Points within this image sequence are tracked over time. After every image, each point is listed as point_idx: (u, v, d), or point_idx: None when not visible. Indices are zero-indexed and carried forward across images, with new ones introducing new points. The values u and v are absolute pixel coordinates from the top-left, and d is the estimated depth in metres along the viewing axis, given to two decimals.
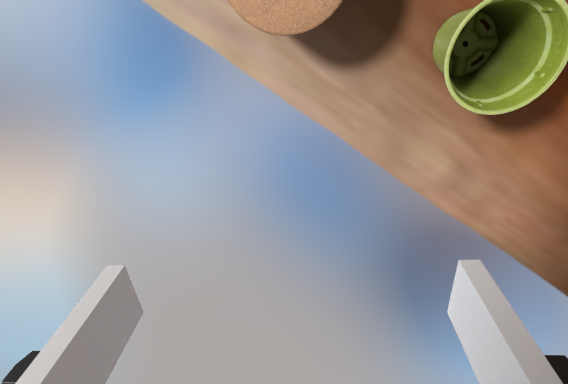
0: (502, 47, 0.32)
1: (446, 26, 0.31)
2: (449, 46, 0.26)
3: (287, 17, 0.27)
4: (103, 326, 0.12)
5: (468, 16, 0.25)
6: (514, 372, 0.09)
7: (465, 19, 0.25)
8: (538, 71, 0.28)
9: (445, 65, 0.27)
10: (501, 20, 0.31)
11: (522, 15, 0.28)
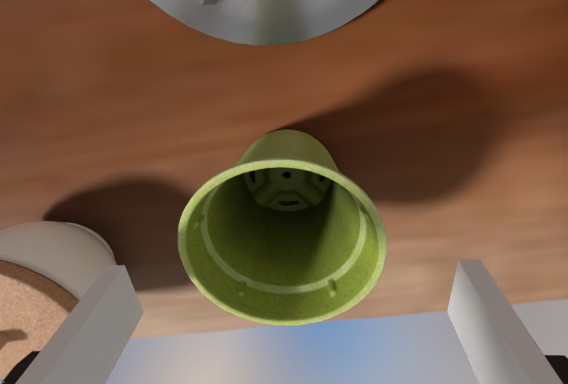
0: (325, 152, 0.20)
1: (235, 197, 0.21)
2: (207, 296, 0.17)
3: None
4: (103, 326, 0.12)
5: (184, 263, 0.16)
6: (514, 372, 0.09)
7: (185, 267, 0.16)
8: (361, 207, 0.16)
9: (228, 311, 0.17)
10: None
11: None
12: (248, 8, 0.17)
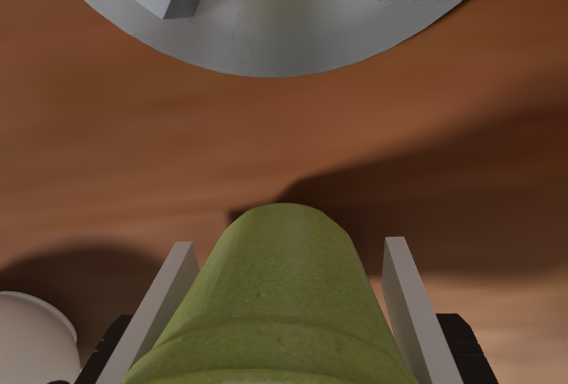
0: None
1: None
2: None
3: None
4: (180, 295, 0.13)
5: None
6: (409, 325, 0.10)
7: None
8: None
9: None
10: None
11: None
12: (243, 22, 0.11)
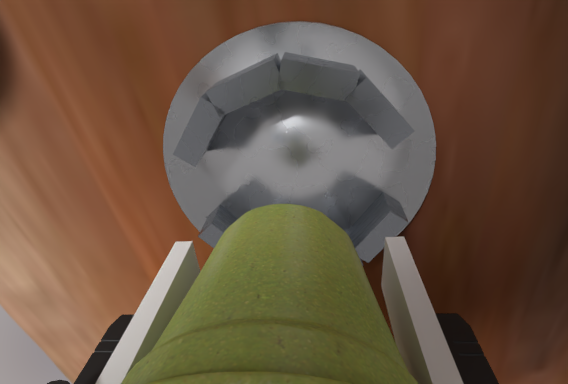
0: None
1: None
2: None
3: None
4: (180, 295, 0.13)
5: None
6: (409, 326, 0.10)
7: None
8: None
9: None
10: None
11: None
12: (188, 163, 0.23)
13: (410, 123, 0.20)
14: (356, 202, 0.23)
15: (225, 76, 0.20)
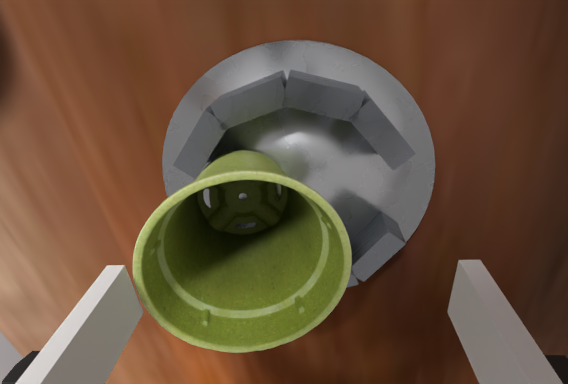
0: None
1: (191, 222, 0.20)
2: (168, 330, 0.15)
3: None
4: (103, 326, 0.12)
5: (140, 295, 0.14)
6: (514, 372, 0.09)
7: (142, 299, 0.14)
8: (322, 218, 0.16)
9: (193, 343, 0.16)
10: None
11: (236, 167, 0.17)
12: (187, 174, 0.23)
13: (411, 145, 0.21)
14: (354, 220, 0.23)
15: (229, 90, 0.20)
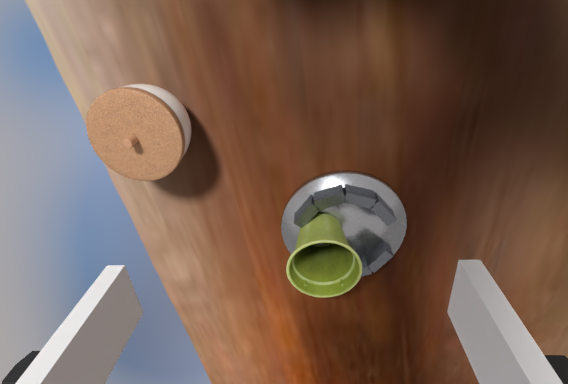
0: (338, 224, 0.47)
1: None
2: (294, 285, 0.43)
3: (116, 162, 0.38)
4: (103, 326, 0.12)
5: (287, 273, 0.42)
6: (514, 372, 0.09)
7: (287, 275, 0.42)
8: (353, 253, 0.42)
9: (301, 291, 0.44)
10: None
11: None
12: (293, 223, 0.49)
13: (395, 213, 0.47)
14: (369, 244, 0.50)
15: (317, 190, 0.46)
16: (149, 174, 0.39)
